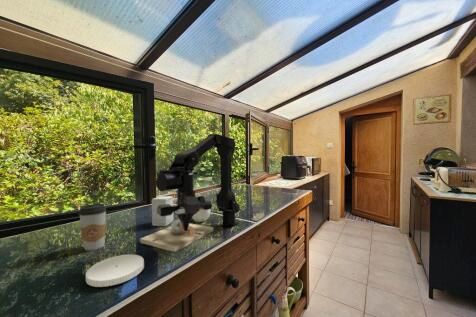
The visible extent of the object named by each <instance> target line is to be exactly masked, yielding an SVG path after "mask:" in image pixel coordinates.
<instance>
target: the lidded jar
mask: <svg viewBox="0 0 476 317" xmlns="http://www.w3.org/2000/svg"><path fill="white" fill-rule="evenodd" d="M211 210H212V209H209V210H204V209H203V208H200V210H199V211H198V212H197V213H196V214H194V215H193V216H192V218H191V220H194V222H196V223H202V222H206V221H207V219H208V218H209V217H210V214H211Z"/></svg>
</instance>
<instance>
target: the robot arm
mask: <svg viewBox="0 0 476 317" xmlns="http://www.w3.org/2000/svg"><path fill="white" fill-rule="evenodd" d="M213 147H214V148H216V153H217V155H218V156H219V158H220V159H219V160H220V162H219V164H220V190H219V192H218V193H216V195H215V197H216V198H215V204H216V206H217V209H218V212H222V222H221V223H220V224H219V225H220V226H221V227H226V228H233V227H235V226H236V225H239V221H237V220H236V215H237V213H239V212H240V210H241V207H240V205H239V204H238V202H237V201H236V195H235V193H234V191H233V190H232V189H233V186H232V180H233V178H232V176H233V175H232V173H233V172H232V157H233V156H234V154H235V152H236V141H235V140H234V138H232V137H228V136H224V135H221V134H219V133H210V134H208V135H207V136H206V137H205V138H203V139H202V140H201V141H200V142H198V143H196V145H194V146H193V147H192V148H190V149H187V150H183V151H181V152H179V153H177V154H176V155H175V156H174V160H173V161H172V162H171V165H170V166H169V168H168V169H165V170H164V169H163V170H161V169H160V170H159V174H158V175H157V177H156V179H155V187H156V188H157V190H158V191H160V192H167V191H168V192H169V191H172V190H173V191H174V190H175V193H176V195H177V196H176V202H175V204H176V205H173V206H171V205H169V204H164V205H159V206H158V207H157V214H159V215H160V216H169V215H171V214H172V213H173V215H176V216H177V217H178V220H179V219H180V221H181V224H182V226H183V229H184V231H187V229H188V226H189V223H190V224H191V220H192V216H193V215H194V214H196V213H197V212H198V211H199V210H200V208H203V209H204V210H209V209H211V210H212V209H213V208H212V207H213V204H212V202H211V201H210V200H208V199H206V198H205V196H203V195H201V196H200V195H199V196H197V195H196V191H195V190H194V176H196V175H198V174H199V173H198V172H197V171H196V170H195V168H196V167H197V165H198V164H199V162H200V159H201V158H202V156H204V155H205V154H206V153H207V152H209V151H210V150H211V149H212V148H213Z"/></svg>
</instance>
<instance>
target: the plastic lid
mask: <svg viewBox="0 0 476 317" xmlns="http://www.w3.org/2000/svg"><path fill="white" fill-rule="evenodd" d="M144 268H145V260H144V258H143V257H142V256H141V255H138V254H128V253H127V254H121V255H119V254H118V255H116V256H111V257H107V258H106V259H103V260H100V261H99V262H97V263H95V264H93V265H92V266H91V267H89V268H88V269H87V270H86V272H85V282H86V284H87V285H89V286H90V287H95V288H98V287H99V288H104V287H109V286H110V287H112V286H114V285H120V284H122V283H125V282H127V281H129V280H131V279H133V278H135V277H137V276H139V274H140V273H141V272H142V271H143V270H144Z"/></svg>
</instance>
